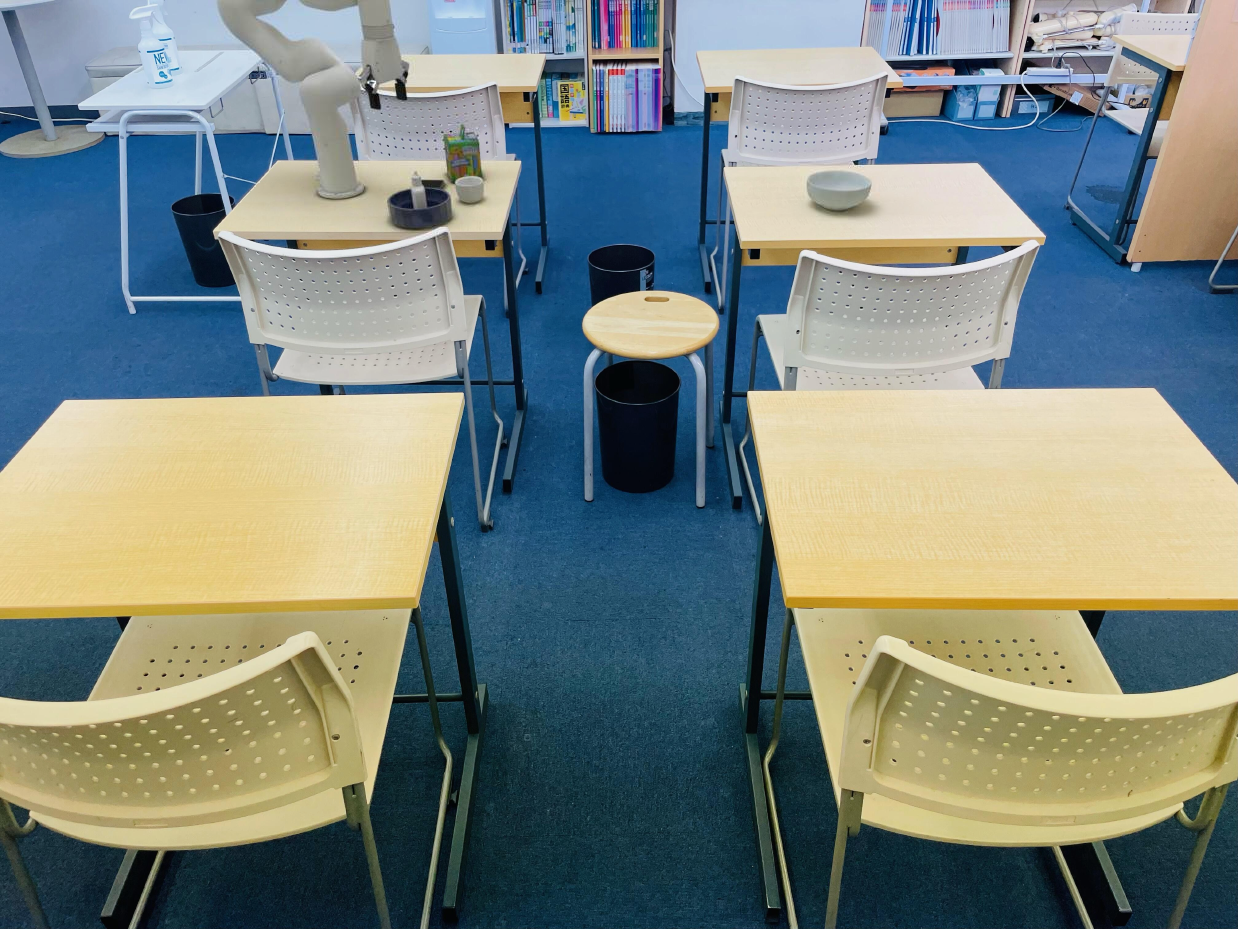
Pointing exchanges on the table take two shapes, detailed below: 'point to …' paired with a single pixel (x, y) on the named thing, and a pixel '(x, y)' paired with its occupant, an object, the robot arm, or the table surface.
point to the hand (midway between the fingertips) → (389, 104)
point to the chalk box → (462, 155)
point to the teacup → (470, 189)
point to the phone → (433, 183)
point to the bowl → (420, 218)
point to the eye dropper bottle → (418, 192)
